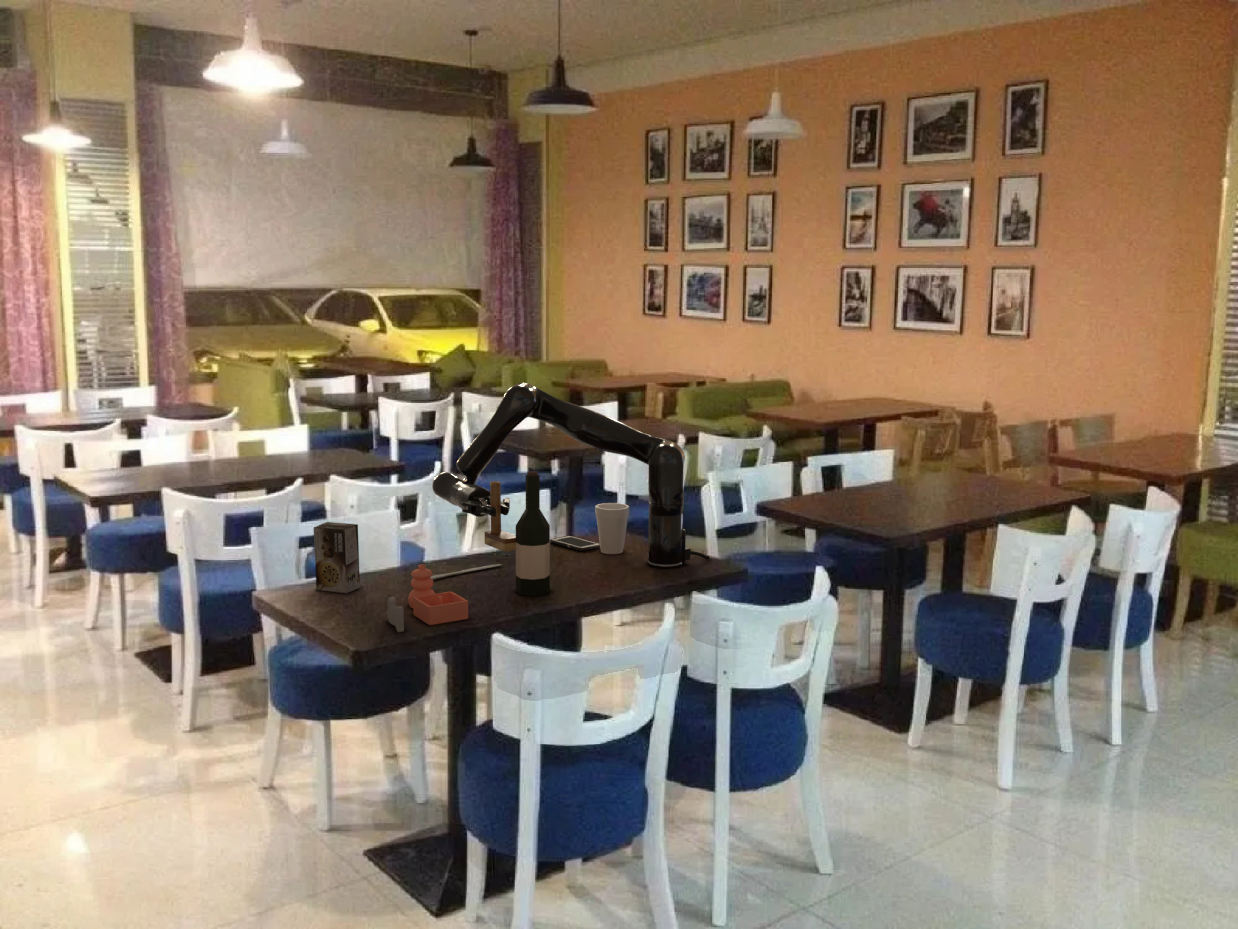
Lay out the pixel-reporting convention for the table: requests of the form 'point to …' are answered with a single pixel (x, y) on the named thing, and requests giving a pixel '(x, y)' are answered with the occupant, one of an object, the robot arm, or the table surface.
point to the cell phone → (575, 543)
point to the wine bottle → (532, 544)
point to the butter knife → (461, 571)
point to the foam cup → (612, 526)
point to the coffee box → (336, 557)
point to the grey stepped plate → (395, 614)
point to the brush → (498, 523)
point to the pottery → (434, 600)
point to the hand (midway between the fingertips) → (500, 511)
